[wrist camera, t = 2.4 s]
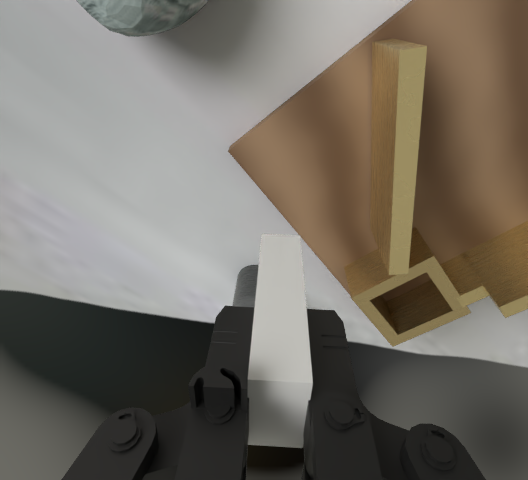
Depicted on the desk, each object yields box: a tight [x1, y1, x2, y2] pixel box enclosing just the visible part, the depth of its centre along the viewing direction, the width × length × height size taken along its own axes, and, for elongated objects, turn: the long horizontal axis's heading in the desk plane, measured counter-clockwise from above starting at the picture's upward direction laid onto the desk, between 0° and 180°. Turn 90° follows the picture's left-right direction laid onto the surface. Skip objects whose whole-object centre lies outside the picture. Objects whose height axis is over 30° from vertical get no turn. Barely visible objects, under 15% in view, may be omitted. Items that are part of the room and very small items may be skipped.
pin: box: [233, 265, 259, 307], centre depth 28 cm, size 3×3×13 cm
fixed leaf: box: [344, 221, 528, 347], centre depth 25 cm, size 21×7×6 cm, turn 128°
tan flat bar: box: [370, 39, 427, 275], centre depth 22 cm, size 13×1×6 cm, turn 8°
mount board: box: [228, 0, 528, 302], centre depth 26 cm, size 23×22×1 cm
